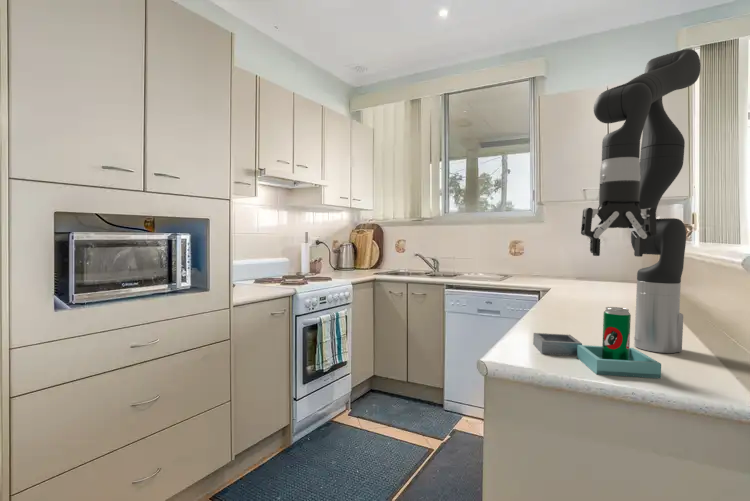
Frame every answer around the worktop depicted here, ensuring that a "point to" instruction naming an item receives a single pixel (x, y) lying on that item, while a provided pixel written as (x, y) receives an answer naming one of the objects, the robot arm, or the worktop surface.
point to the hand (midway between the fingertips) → (616, 256)
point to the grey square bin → (556, 344)
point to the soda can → (616, 333)
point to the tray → (619, 363)
